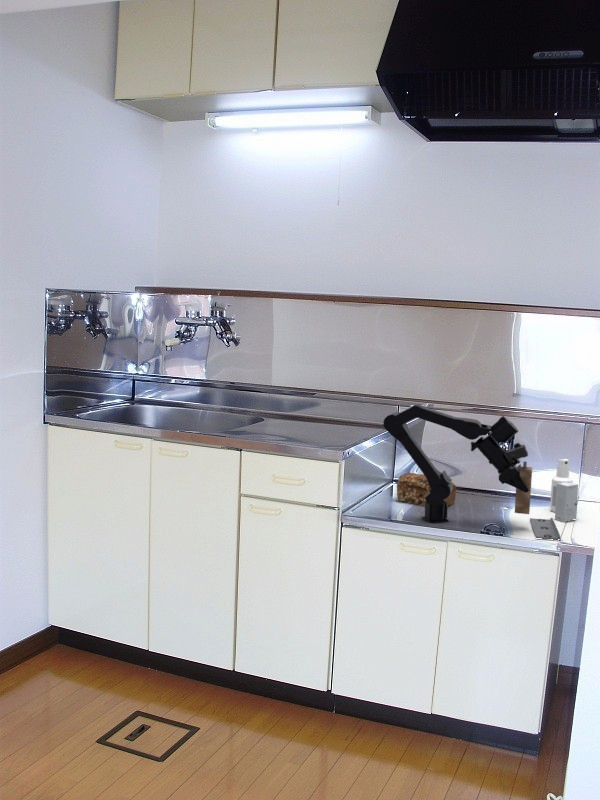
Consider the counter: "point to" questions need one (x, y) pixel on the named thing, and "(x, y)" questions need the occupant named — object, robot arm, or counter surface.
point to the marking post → (522, 497)
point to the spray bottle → (559, 480)
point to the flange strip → (544, 529)
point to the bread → (417, 489)
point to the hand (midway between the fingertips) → (527, 490)
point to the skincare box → (566, 501)
